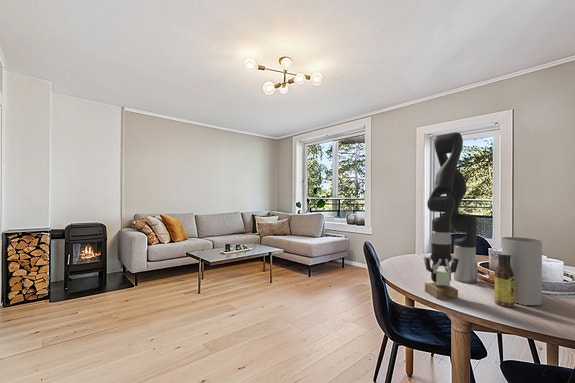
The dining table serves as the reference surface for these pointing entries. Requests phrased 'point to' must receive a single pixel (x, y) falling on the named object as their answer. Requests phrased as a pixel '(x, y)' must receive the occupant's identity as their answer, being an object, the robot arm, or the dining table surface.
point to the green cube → (442, 277)
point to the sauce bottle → (504, 282)
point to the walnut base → (441, 291)
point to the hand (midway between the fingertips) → (440, 281)
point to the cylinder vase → (525, 268)
